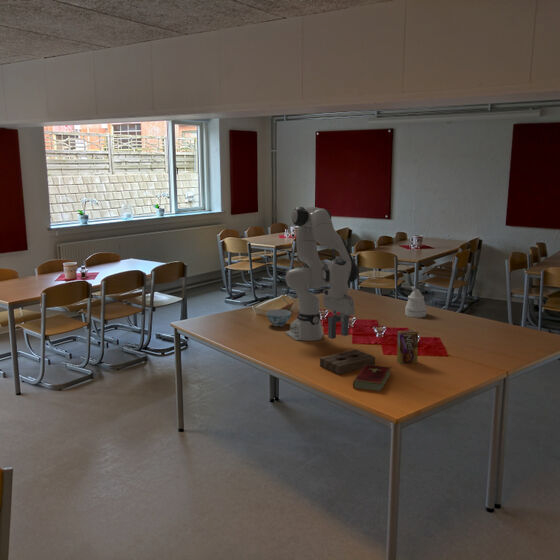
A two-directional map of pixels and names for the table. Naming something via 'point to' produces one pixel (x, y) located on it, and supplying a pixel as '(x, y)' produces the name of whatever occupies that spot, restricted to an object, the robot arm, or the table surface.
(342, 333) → the grey u-shaped block
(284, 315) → the chinaware
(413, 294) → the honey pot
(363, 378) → the hardcover book
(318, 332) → the robot arm
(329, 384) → the table surface
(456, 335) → the table surface
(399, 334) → the candy box
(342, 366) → the wooden board with holes
